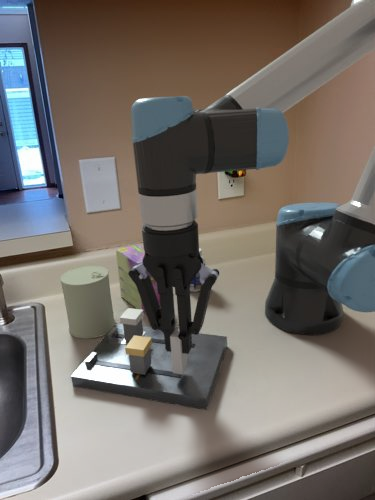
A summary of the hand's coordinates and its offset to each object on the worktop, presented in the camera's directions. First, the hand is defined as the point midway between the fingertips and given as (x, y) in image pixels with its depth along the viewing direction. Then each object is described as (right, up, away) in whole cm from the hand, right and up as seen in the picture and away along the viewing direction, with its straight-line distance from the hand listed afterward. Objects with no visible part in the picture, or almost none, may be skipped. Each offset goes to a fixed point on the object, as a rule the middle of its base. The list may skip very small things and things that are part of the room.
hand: (180, 368), depth 59 cm
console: (-5, -1, +6) cm, 8 cm away
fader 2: (-6, -1, +2) cm, 7 cm away
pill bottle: (+3, +9, +33) cm, 35 cm away
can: (-18, +3, +19) cm, 26 cm away
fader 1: (-9, +2, +10) cm, 14 cm away
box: (-9, +6, +28) cm, 30 cm away
